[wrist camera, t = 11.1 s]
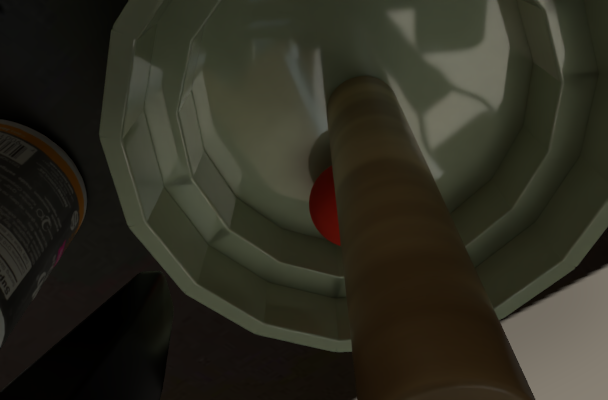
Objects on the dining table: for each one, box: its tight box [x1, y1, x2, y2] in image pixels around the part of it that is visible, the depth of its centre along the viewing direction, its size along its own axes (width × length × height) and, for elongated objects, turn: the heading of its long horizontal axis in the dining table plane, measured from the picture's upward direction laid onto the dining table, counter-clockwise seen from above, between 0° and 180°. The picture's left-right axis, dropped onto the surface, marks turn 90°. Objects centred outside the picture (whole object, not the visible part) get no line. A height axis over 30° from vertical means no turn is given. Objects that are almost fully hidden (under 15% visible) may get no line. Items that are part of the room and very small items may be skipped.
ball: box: [309, 166, 341, 246], centre depth 17 cm, size 3×3×3 cm
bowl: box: [99, 0, 608, 352], centre depth 15 cm, size 14×14×5 cm
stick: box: [327, 76, 535, 400], centre depth 12 cm, size 2×2×12 cm
